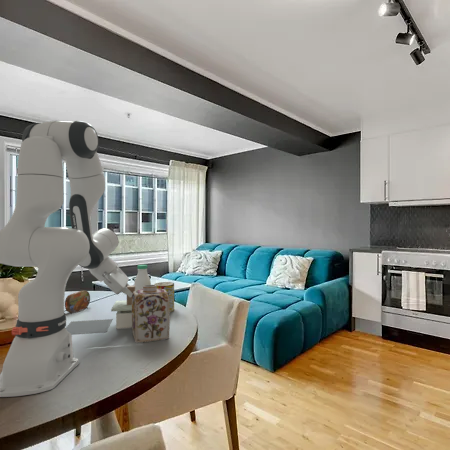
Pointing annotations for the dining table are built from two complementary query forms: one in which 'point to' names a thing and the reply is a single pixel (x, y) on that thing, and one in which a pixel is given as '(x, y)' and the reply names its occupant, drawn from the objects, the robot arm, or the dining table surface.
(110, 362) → the dining table surface
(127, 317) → the dish
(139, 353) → the dining table surface
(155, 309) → the decorative jar
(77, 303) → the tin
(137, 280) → the milk bottle
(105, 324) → the mat
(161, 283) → the yellow labeled can
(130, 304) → the lid
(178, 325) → the dining table surface
